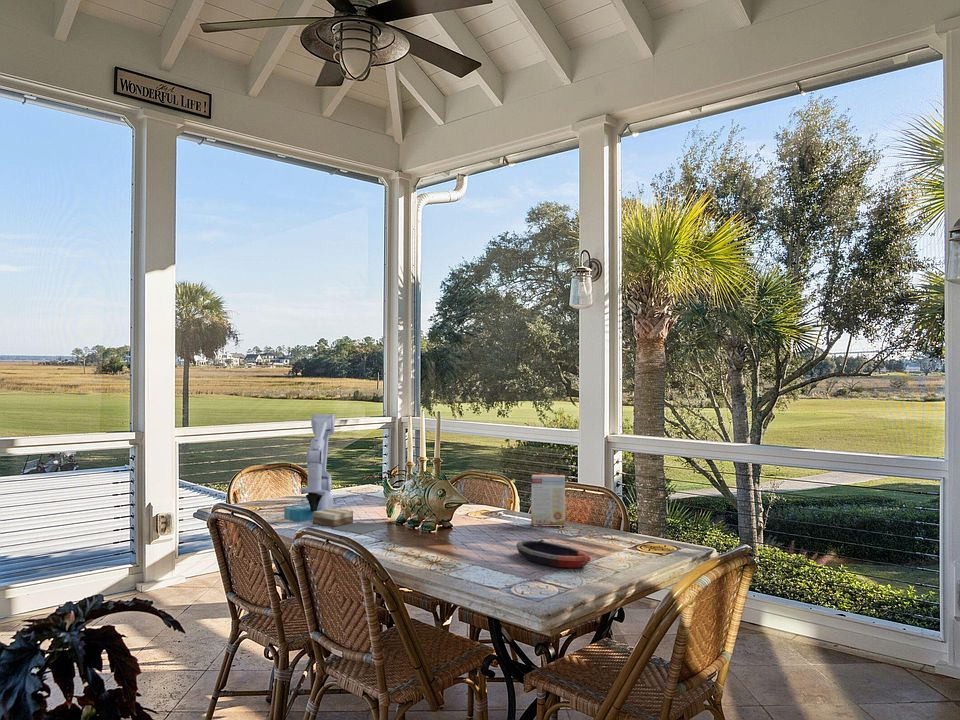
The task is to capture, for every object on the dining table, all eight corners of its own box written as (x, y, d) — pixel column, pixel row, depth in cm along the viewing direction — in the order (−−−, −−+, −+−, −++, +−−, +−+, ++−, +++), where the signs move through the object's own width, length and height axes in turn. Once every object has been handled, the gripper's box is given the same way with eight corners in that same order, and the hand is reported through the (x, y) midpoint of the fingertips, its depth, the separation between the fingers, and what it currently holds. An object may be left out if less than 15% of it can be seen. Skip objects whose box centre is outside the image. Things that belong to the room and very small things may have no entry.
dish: (536, 549, 265) (536, 535, 265) (602, 567, 241) (602, 552, 241) (504, 556, 255) (504, 541, 255) (569, 575, 231) (570, 559, 231)
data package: (282, 507, 314) (307, 504, 322) (282, 518, 314) (307, 514, 322) (297, 511, 305) (322, 508, 314) (297, 522, 305) (322, 518, 314)
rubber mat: (357, 522, 307) (357, 521, 307) (387, 527, 298) (387, 526, 298) (330, 528, 293) (330, 528, 293) (361, 534, 285) (361, 533, 285)
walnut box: (331, 519, 312) (331, 512, 312) (352, 523, 305) (353, 515, 305) (312, 524, 302) (312, 516, 302) (334, 527, 296) (334, 520, 296)
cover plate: (331, 512, 312) (331, 507, 312) (353, 515, 305) (353, 511, 305) (312, 516, 302) (312, 511, 302) (334, 520, 296) (334, 515, 296)
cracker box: (564, 524, 309) (565, 474, 310) (564, 527, 303) (565, 476, 304) (531, 523, 311) (531, 473, 311) (530, 526, 305) (531, 475, 305)
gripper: (295, 478, 310) (294, 510, 310) (320, 481, 303) (319, 514, 302) (307, 476, 316) (306, 508, 316) (332, 479, 309) (331, 512, 308)
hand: (313, 511), depth 310 cm, fingers closed
